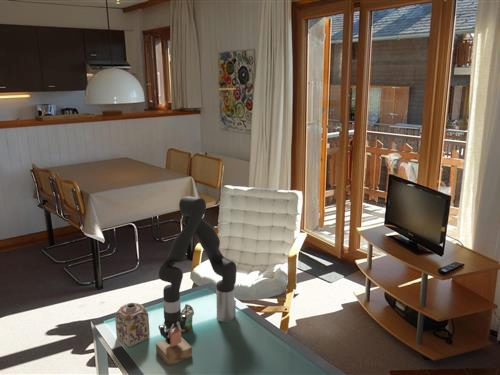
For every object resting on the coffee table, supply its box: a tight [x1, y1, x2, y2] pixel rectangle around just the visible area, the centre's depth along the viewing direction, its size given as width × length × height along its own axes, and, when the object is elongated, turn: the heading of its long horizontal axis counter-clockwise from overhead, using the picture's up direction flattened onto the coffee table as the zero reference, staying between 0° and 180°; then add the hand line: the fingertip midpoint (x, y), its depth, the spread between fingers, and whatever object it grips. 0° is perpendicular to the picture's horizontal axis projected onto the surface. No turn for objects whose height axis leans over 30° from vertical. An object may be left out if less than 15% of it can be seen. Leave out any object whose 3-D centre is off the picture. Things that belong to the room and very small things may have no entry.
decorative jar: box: [114, 302, 151, 348], centre depth 214 cm, size 12×12×18 cm
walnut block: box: [155, 336, 193, 367], centre depth 205 cm, size 12×12×5 cm
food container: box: [179, 303, 195, 334], centre depth 224 cm, size 12×6×10 cm, turn 168°
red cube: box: [169, 328, 182, 347], centre depth 203 cm, size 5×5×6 cm
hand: (173, 340), depth 203 cm, fingers closed on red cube, 5 cm apart
